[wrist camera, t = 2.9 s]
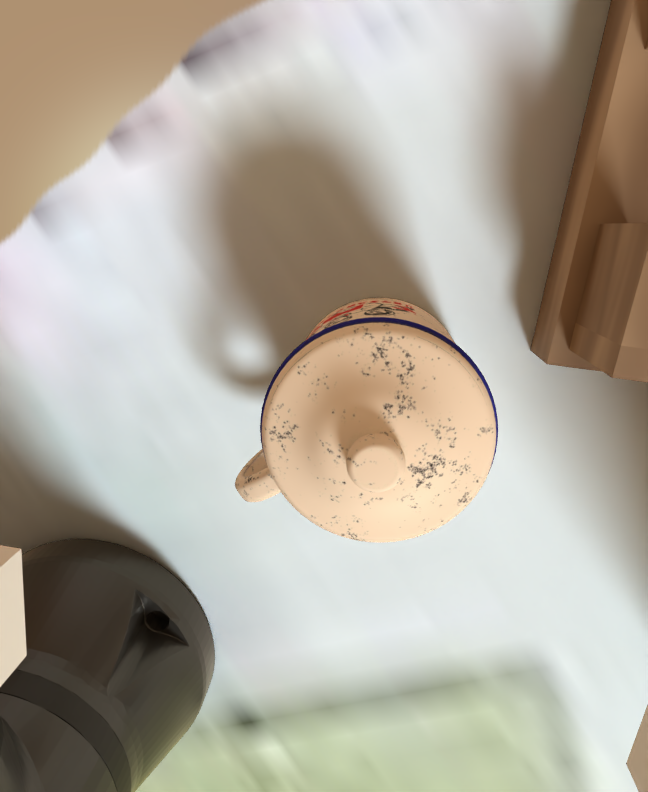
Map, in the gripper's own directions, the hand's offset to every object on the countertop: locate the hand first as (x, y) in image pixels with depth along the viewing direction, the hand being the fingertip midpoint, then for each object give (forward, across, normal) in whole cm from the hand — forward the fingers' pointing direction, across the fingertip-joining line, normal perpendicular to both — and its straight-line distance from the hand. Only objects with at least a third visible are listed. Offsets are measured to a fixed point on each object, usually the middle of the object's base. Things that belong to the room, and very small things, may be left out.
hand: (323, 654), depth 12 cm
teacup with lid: (+20, 0, 0) cm, 20 cm away
